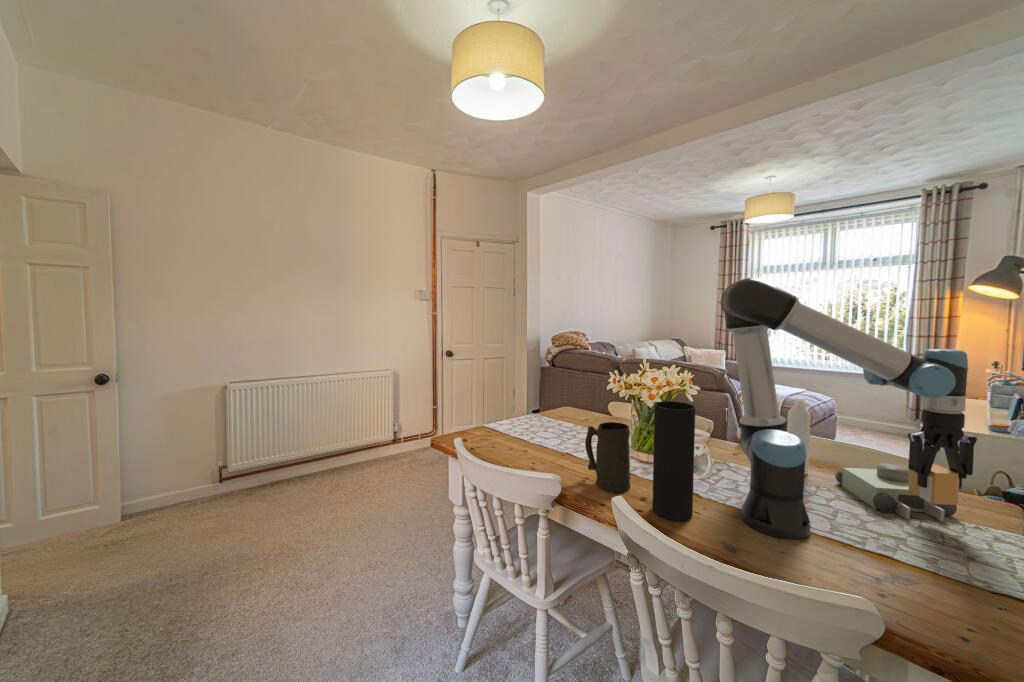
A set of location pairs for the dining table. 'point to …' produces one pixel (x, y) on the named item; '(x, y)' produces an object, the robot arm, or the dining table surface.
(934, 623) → the dining table surface
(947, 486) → the orange block
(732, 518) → the dining table surface
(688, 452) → the vase
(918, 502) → the mower deck
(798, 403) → the water bottle
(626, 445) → the beer stein
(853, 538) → the dining table surface
